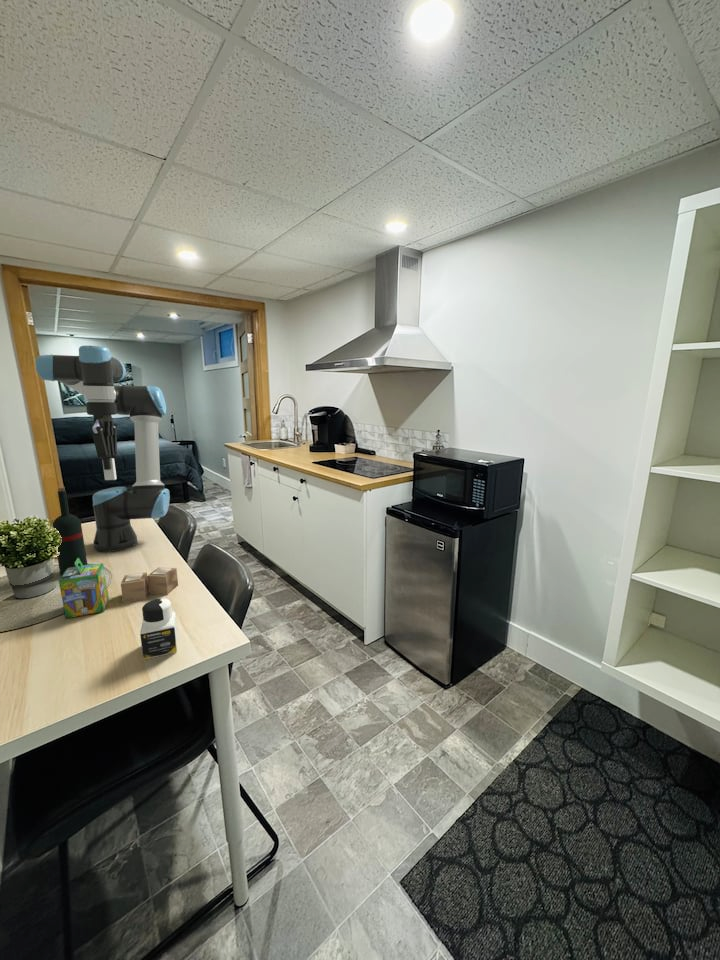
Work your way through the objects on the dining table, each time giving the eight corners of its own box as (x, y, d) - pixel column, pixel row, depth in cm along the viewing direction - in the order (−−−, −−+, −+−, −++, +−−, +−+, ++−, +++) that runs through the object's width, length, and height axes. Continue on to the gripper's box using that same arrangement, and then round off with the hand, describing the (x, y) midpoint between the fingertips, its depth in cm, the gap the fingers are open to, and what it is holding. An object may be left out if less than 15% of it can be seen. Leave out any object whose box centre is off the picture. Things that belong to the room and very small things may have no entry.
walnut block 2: (160, 584, 126) (158, 566, 124) (178, 585, 125) (176, 567, 124) (149, 593, 120) (146, 574, 119) (167, 594, 119) (165, 575, 118)
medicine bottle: (143, 660, 90) (137, 613, 87) (146, 642, 96) (140, 598, 94) (177, 652, 92) (172, 607, 90) (177, 636, 99) (173, 593, 96)
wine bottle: (89, 563, 141) (77, 482, 135) (87, 574, 132) (75, 488, 126) (61, 568, 137) (48, 485, 130) (59, 579, 128) (44, 491, 122)
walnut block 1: (127, 593, 120) (124, 574, 119) (148, 590, 122) (146, 571, 121) (123, 602, 115) (120, 583, 113) (145, 599, 117) (143, 579, 115)
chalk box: (103, 612, 109) (96, 563, 106) (64, 619, 106) (55, 569, 103) (109, 597, 118) (103, 551, 114) (73, 603, 114) (65, 556, 111)
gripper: (96, 400, 120) (106, 475, 125) (75, 401, 108) (86, 484, 113) (123, 401, 121) (132, 475, 126) (105, 401, 109) (115, 483, 114)
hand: (110, 479), depth 119 cm, fingers closed
